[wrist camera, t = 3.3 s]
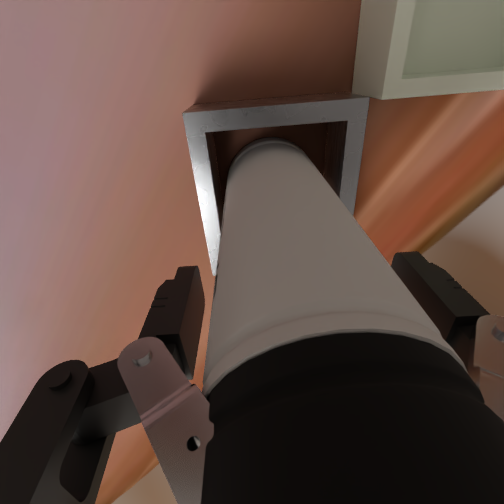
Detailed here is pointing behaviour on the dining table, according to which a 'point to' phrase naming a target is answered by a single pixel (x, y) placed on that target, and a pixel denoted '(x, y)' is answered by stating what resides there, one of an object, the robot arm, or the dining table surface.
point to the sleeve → (270, 115)
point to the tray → (429, 48)
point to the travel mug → (329, 360)
